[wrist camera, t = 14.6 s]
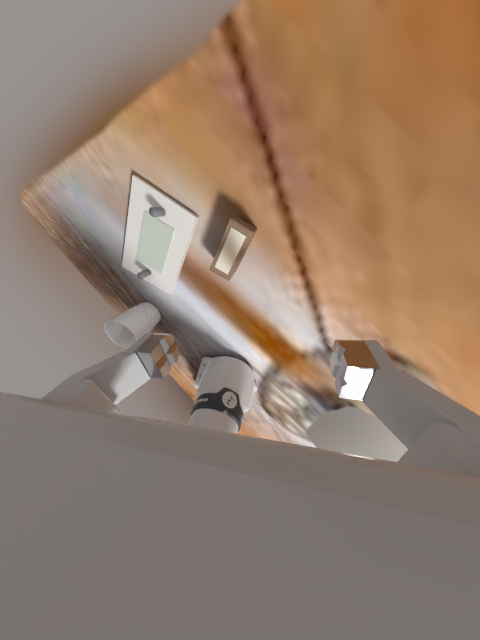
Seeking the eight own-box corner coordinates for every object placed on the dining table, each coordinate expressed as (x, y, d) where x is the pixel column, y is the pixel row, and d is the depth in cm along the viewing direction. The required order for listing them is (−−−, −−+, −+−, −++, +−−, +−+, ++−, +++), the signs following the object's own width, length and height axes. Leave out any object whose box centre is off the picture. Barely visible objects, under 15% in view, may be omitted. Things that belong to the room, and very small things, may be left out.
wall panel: (172, 292, 41) (163, 299, 38) (125, 265, 40) (112, 270, 36) (199, 217, 31) (189, 218, 28) (137, 176, 29) (120, 172, 26)
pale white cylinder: (163, 328, 48) (138, 353, 40) (137, 319, 49) (107, 342, 40) (163, 305, 44) (135, 328, 36) (134, 295, 44) (100, 315, 36)
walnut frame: (235, 272, 35) (228, 281, 31) (218, 262, 35) (209, 269, 31) (257, 228, 30) (253, 232, 26) (237, 216, 30) (230, 218, 25)
